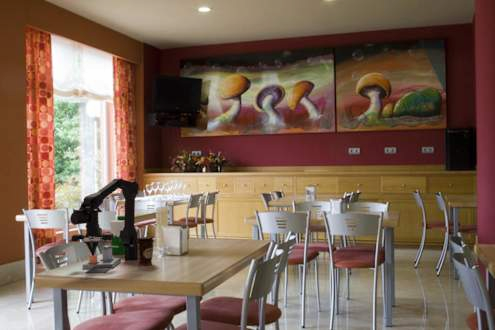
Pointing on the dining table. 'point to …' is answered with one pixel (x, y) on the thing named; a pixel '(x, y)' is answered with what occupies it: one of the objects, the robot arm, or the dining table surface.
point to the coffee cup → (145, 250)
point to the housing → (102, 263)
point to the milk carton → (117, 235)
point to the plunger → (92, 259)
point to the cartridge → (107, 253)
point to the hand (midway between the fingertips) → (93, 255)
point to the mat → (98, 270)
